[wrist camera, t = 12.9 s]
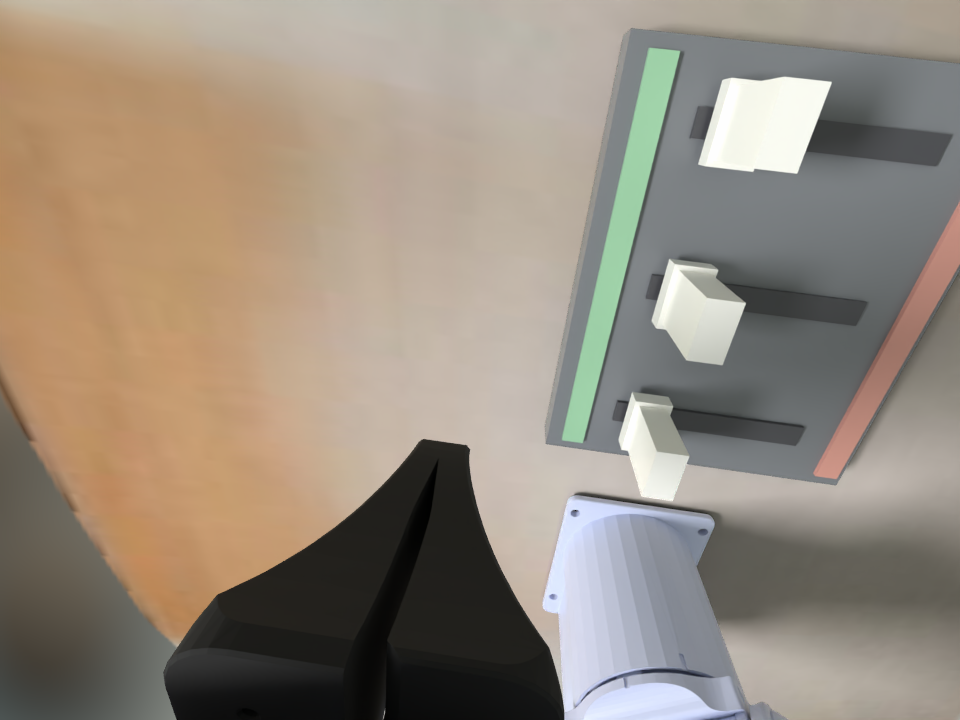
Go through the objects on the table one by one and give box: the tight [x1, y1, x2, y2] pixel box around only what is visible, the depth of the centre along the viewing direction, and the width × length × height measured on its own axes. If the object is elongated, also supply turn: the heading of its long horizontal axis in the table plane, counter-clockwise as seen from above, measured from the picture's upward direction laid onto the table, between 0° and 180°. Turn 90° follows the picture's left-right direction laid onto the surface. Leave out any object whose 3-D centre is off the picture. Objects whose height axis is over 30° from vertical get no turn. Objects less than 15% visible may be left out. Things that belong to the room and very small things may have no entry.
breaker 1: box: [618, 392, 689, 501], centre depth 20 cm, size 3×2×4 cm, turn 174°
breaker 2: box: [698, 77, 832, 174], centre depth 14 cm, size 3×2×4 cm, turn 174°
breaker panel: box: [545, 28, 960, 485], centre depth 20 cm, size 17×14×2 cm
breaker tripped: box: [652, 259, 746, 365], centre depth 17 cm, size 3×2×4 cm, turn 174°
